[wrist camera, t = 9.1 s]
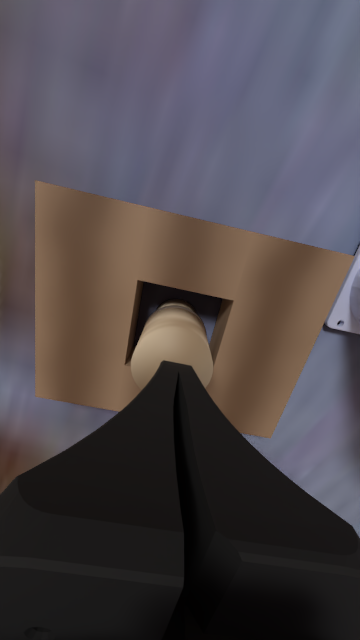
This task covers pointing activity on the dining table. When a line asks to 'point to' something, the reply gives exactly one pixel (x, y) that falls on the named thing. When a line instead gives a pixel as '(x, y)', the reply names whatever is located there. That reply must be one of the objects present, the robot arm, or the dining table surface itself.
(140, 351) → the peg
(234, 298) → the board
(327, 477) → the dining table surface
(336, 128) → the dining table surface
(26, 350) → the dining table surface
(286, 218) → the dining table surface
